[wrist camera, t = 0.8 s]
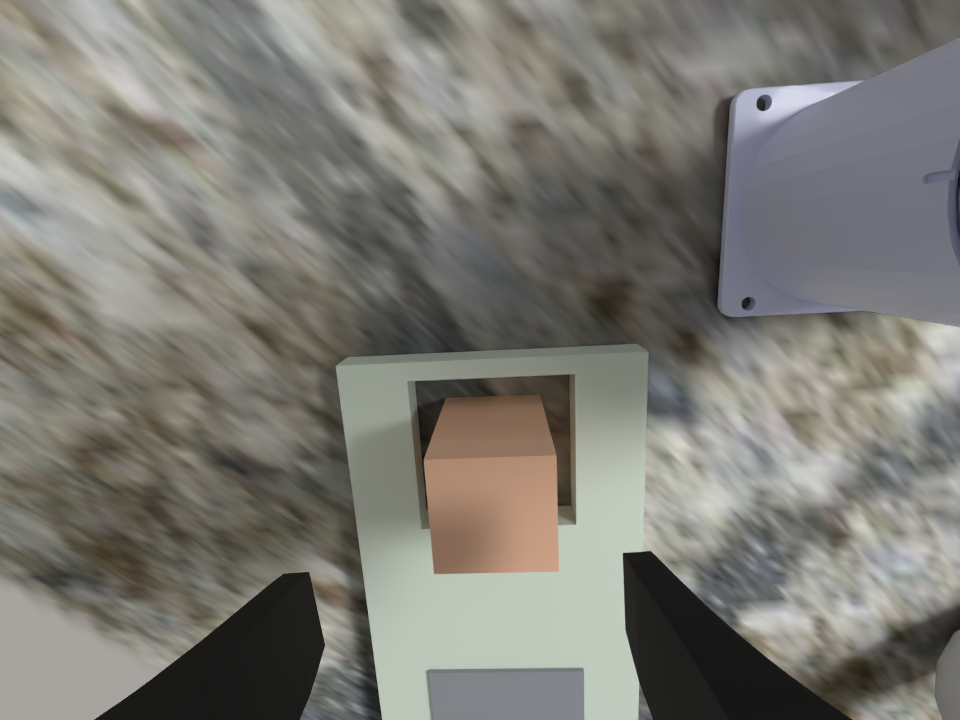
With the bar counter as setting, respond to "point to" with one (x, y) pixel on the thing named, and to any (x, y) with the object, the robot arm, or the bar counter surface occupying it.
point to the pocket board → (500, 596)
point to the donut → (949, 680)
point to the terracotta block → (492, 487)
